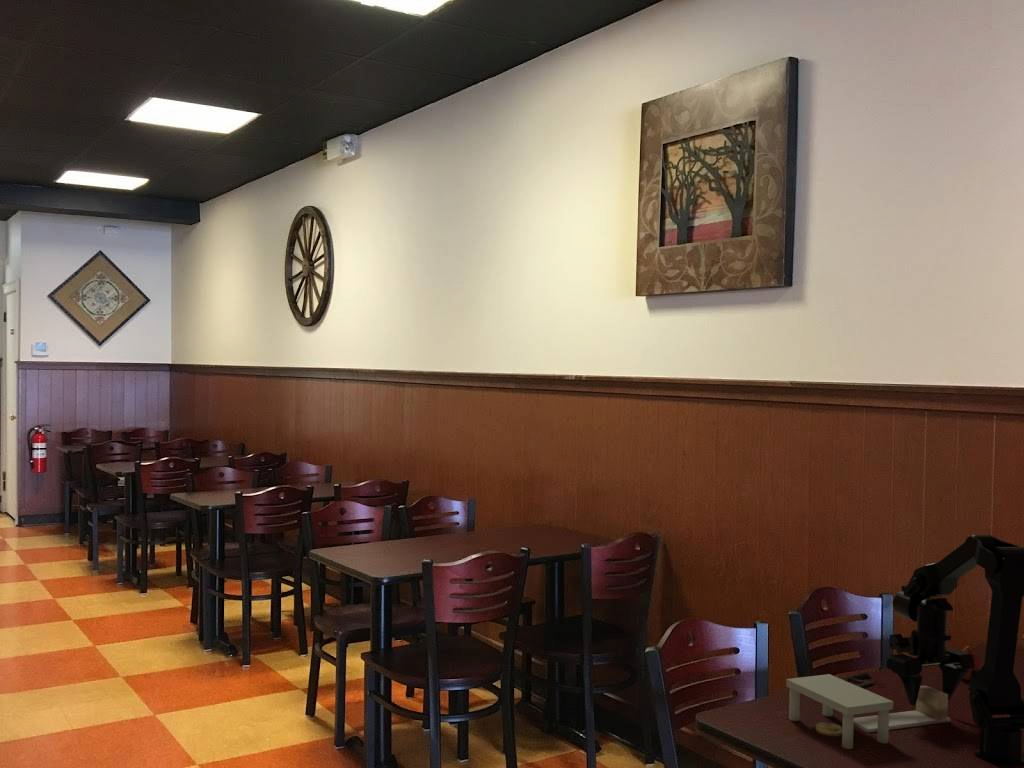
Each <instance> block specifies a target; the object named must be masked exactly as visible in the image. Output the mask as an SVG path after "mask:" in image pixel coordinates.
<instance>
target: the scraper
mask: <svg viewBox="0 0 1024 768" xmlns="http://www.w3.org/2000/svg"><path fill="white" fill-rule="evenodd" d="M948 706H949V701H948V694H946V693H943V691H940V690H938V689H935V688H933V687H931V686H928V685H920V690H919V694H918V698H917V702H916V704H915V709H914V710H909V711H899V712H898V711H897V712H892V713H891V712H889V731H891V730H898V729H905V728H913V727H921V726H927V725H928V726H929V725H935V724H941V723H950V722H951V718H950V717H948V713H949V712H948V709H949V708H948ZM854 726H855V727H857V728H858V729H860V730H862V731H864V732H866V733H869V734H870V733H876V732H877V729H878V714H877V715H869V716H868V715H867V716H862V717H861V716H859V717H854Z"/></svg>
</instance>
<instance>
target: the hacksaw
mask: <svg viewBox="0 0 1024 768" xmlns="http://www.w3.org/2000/svg"><path fill="white" fill-rule="evenodd" d="M871 676H872V675H871V674H870V673H869V672H866V671H865V672H861V673H858V674H853V675H851V676H848V677H847V678H843V679H842V680H844V681H847V682H854V683H858V684H855V685H856V686H858V687H861V688H865V687H869V686H871V685H873V684H874V683H880V684H878V685H879V686H881V685H883V682H882V681H880V680H865V679H870V678H871ZM858 679H859V680H858Z"/></svg>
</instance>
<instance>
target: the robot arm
mask: <svg viewBox="0 0 1024 768" xmlns="http://www.w3.org/2000/svg"><path fill="white" fill-rule="evenodd" d="M977 566H980V568H982V569H984V577H985V578H984V579H985V580H986V582H987V584H988V586H989V587H990V590H991V600H990V601H991V602H990V609H989V610H990V611H989V617H988V619H989V620H988V629H987V638H986V644H985V645H986V646H985V654H984V662H983V663H984V664H983V666H982V667H980V670H972V672H971V674H970V679H969V680H970V682H969V687H968V691H969V694H968V695H969V696H968V698H969V704H970V709H971V714H972V720H973V723H974V724H976V727H977V728H979V750H976V751H974V755H975V756H977V757H980V758H982V759H984V760H986V761H988V762H990V763H993V764H995V765H996V766H997V765H998V766H999V767H1003V768H1005V767H1011V766H1017V765H1022V764H1023V765H1024V757H1022V749H1023V748H1022V747H1023V746H1022V745H1023V741H1022V740H1023V730H1024V700H1023V697H1022V684H1021V683H1020V682H1019V679H1018V677H1017V675H1016V673H1015V662H1016V653H1017V646H1018V637H1019V636H1018V635H1019V629H1020V628H1019V627H1020V623H1021V622H1020V621H1021V612H1022V604H1023V603H1022V602H1023V597H1024V546H1020V545H1017V544H1014V543H1011V542H1007V541H1004V540H1001V539H999V538H997V537H996V536H993V535H991V534H972V535H970V536H967V538H966V539H965V541H964V542H963V543H961V544H960V545H958V546H957V547H956V548H955V549H953V550H952V551H951V552H949V553H948V554H947V555H946V556H944V557H943V558H941V559H940V560H939V561H937V562H934V563H928V564H925V565H922V566H919V567H917V568H916V569H914V571H913V573H912V576H911V577H910V579H909V582H908V583H907V585H905V584H904V585H901V589H900V591H899V592H897V593H896V594H895V596H893V597H894V598H893V599H892V608H893V611H894V612H895V613H896V614H897V615H899V616H901V617H904V618H906V619H908V620H911V621H913V622H916V629H912V630H911V632H910V636H908V637H904V636H903V635H902V633H893V634H889V641H888V644H889V648H890V649H891V650H892V651H895V650H896V654H889V656H888V657H887V658H886V669H887V670H891V672H892V673H894V674H895V675H897V676H898V677H899V679H900V680H901V683H902V685H903V688H904V690H905V693H906V697H907V700H908V703H909V705H911V706H913V707H914V706H915V707H916V702H917V698H918V694H919V690H920V686H922V681H923V675H922V674H921V672H922V671H923V668H927V667H935V666H938V667H939V669H940V671H941V673H942V692H943V693H946V694H948V702H949V701H950V699H951V698H952V697H953V696H954V695H953V694H954V693H955V691H956V689H957V688H958V687H959V685H960V683H961V682H962V680H964V678H963V677H964V676H965V675H966V673H968V672H969V669H970V668H974V658H973V657H972V655H971V654H970V653H967V652H964V651H961V650H962V649H961V650H960V649H958V648H954V647H953V648H947V641H952V634H948V633H947V631H948V629H947V627H948V623H947V622H948V612H951V611H952V612H953V611H954V607H953V605H952V604H951V603H950V602H949V601H948V599H947V598H946V597H943V596H950V595H951V594H952V593H953V592H954V591H955V590H956V588H957V587H958V586H959V582H958V581H959V579H960V578H962V577H963V576H964V575H966V574H967V573H969V572H970V571H972V570H973V569H975V568H976V567H977ZM935 597H936V598H935ZM904 653H908V655H907V654H904ZM913 656H915V657H913ZM1003 715H1007V716H1009V717H993V716H1003Z"/></svg>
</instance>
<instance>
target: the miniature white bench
mask: <svg viewBox="0 0 1024 768" xmlns="http://www.w3.org/2000/svg"><path fill="white" fill-rule="evenodd" d="M785 685H786V687H787V688H789V701H788V706H789V708H788V720H789V719H790V720H789V721H792V722H799V721H800V703H801V702H800V699H801V698H800V697H801V694H802V695H804V696H806V697H807V698H810V699H812V700H814V701H815V702H818V703H821V704H822V715H823V716H825V717H833V715H834V713H833V712H834V710H836V711H837V712H839V713H842V723H841V724H842V726H841V727H842V735H841V748H843V749H848V750H851V749H853V748H854V730H855V729H854V718H855V715H862V714H869V713H876V712H877V715H878V729H877V733H876V736H877V737H876V741H877V742H878V743H880V744H888V743H889V731H890V730H889V714H890V711H891V710H893V709H894V701H893V700H891V699H888V698H886V697H884V696H881V695H878V694H877V693H874V692H872V691H870V690H867V689H865V688H864V687H862V688H861V687H858V686H856V685H857V684H853V683H852V682H850V681H844V680H842V679H841V678H839V677H837V676H834V675H832V674H830V673H828V674H820V675H812V676H811V675H810V676H802V677H801V676H800V677H793V678H786V684H785Z"/></svg>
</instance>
